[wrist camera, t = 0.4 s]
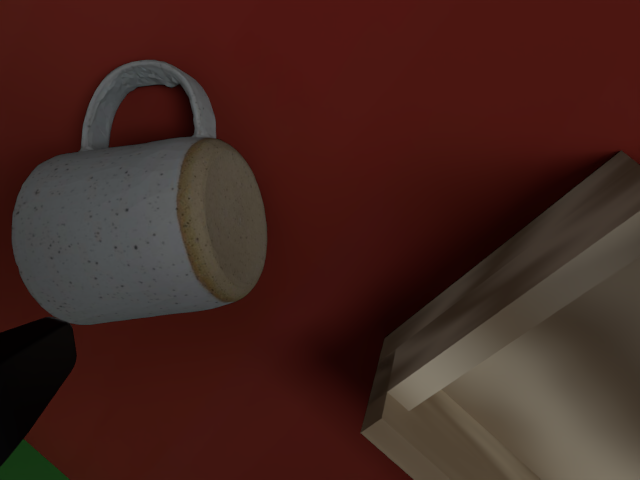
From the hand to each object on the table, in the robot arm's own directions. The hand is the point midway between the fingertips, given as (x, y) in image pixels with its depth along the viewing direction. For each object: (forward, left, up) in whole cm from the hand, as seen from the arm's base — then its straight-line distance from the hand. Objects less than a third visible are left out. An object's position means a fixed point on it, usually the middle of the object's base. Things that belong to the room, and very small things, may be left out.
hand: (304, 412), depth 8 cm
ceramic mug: (-2, +11, -15) cm, 19 cm away
